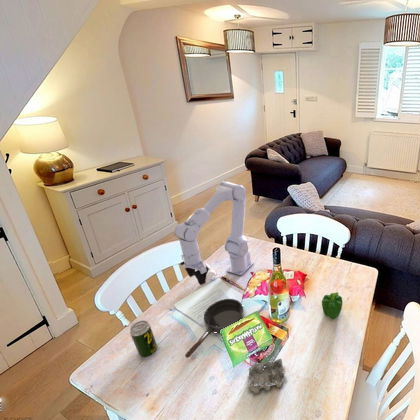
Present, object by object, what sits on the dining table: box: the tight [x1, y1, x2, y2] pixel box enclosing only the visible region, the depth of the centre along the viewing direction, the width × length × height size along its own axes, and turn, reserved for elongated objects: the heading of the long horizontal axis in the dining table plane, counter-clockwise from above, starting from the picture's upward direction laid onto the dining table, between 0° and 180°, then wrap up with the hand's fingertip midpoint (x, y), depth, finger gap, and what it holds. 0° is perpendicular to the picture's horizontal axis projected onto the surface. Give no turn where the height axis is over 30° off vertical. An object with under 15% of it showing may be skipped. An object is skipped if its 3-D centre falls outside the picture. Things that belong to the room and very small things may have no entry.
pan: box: [203, 298, 245, 335], centre depth 104 cm, size 14×14×4 cm
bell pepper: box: [321, 291, 343, 320], centre depth 106 cm, size 8×8×10 cm
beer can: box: [129, 320, 158, 359], centre depth 89 cm, size 5×5×12 cm
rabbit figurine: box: [204, 262, 217, 281], centre depth 125 cm, size 6×4×8 cm
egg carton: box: [248, 358, 285, 394], centre depth 83 cm, size 11×8×4 cm
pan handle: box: [184, 327, 213, 359], centre depth 92 cm, size 12×2×2 cm, turn 161°
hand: (197, 279), depth 109 cm, fingers open, 7 cm apart
